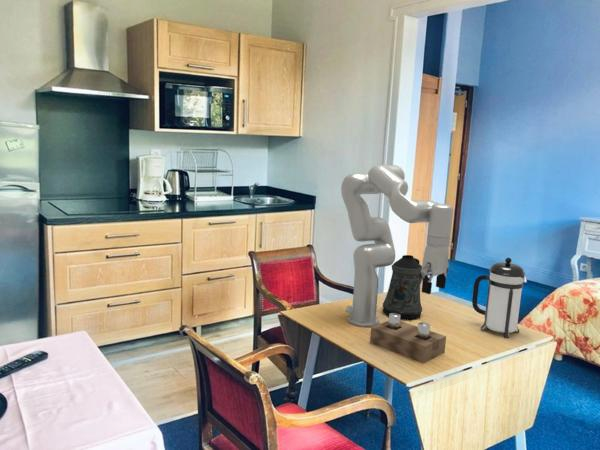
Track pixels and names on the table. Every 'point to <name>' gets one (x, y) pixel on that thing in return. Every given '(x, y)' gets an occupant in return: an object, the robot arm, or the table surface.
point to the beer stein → (404, 289)
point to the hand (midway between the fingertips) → (433, 290)
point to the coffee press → (501, 297)
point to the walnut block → (408, 341)
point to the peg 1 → (394, 321)
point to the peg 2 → (423, 330)
